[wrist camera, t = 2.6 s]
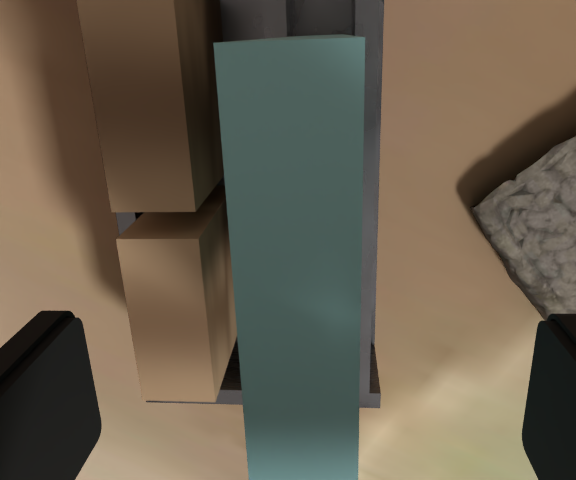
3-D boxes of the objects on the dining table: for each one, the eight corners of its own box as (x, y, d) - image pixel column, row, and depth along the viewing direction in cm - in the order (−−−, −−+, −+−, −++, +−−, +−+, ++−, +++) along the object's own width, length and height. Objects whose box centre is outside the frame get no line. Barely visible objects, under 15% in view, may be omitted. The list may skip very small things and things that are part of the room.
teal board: (304, 35, 22) (213, 42, 6) (342, 34, 22) (365, 37, 5) (309, 289, 27) (268, 720, 10) (341, 289, 26) (354, 727, 10)
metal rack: (123, -59, 22) (67, -82, 18) (383, -73, 21) (397, -102, 17) (175, 344, 30) (146, 401, 25) (372, 347, 29) (379, 408, 24)
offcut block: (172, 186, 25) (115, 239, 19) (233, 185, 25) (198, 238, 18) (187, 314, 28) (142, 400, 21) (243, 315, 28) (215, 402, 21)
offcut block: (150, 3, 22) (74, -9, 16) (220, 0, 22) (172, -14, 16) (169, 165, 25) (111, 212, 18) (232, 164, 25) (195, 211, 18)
